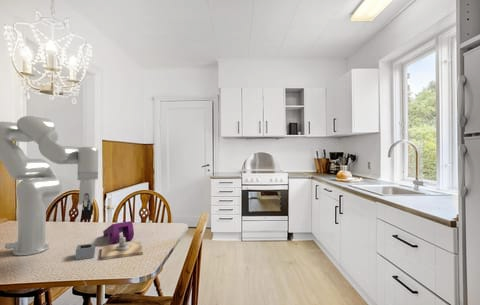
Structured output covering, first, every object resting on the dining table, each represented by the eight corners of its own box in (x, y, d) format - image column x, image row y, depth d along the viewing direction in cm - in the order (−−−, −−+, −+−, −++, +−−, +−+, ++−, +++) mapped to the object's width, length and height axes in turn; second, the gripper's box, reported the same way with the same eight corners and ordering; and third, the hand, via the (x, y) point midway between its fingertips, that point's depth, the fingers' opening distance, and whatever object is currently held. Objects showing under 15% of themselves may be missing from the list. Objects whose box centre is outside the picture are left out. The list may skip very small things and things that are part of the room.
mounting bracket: (102, 249, 136) (114, 241, 124) (100, 233, 139) (112, 224, 127) (121, 245, 142) (134, 237, 131) (119, 229, 145) (132, 220, 134)
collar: (75, 259, 107) (75, 249, 107) (77, 254, 113) (77, 245, 113) (93, 257, 110) (93, 247, 110) (94, 252, 115) (95, 243, 116)
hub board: (100, 259, 107) (101, 244, 108) (102, 248, 120) (102, 235, 120) (142, 254, 114) (143, 240, 114) (140, 244, 127) (140, 231, 127)
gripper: (80, 175, 118) (79, 214, 118) (74, 178, 102) (74, 222, 102) (99, 174, 121) (98, 212, 121) (96, 177, 106) (96, 220, 105)
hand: (87, 217), depth 111 cm, fingers open, 9 cm apart
